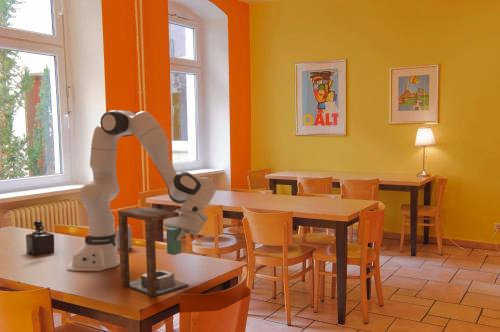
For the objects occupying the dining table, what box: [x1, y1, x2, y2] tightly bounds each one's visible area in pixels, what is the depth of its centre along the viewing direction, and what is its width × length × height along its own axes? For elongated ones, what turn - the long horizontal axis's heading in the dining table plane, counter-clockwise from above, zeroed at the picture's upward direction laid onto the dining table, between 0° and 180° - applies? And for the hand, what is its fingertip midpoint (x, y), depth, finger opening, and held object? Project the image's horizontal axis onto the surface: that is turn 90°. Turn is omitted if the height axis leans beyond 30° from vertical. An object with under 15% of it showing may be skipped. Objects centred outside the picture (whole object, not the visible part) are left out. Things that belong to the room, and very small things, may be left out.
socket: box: [123, 269, 189, 298], centre depth 189 cm, size 16×20×4 cm
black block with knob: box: [25, 219, 55, 257], centre depth 242 cm, size 16×11×18 cm
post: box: [166, 227, 182, 256], centre depth 195 cm, size 4×4×10 cm
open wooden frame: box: [117, 206, 179, 297], centre depth 186 cm, size 13×21×29 cm, turn 46°
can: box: [115, 224, 133, 251], centre depth 250 cm, size 8×8×12 cm
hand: (172, 239), depth 194 cm, fingers closed on post, 4 cm apart
